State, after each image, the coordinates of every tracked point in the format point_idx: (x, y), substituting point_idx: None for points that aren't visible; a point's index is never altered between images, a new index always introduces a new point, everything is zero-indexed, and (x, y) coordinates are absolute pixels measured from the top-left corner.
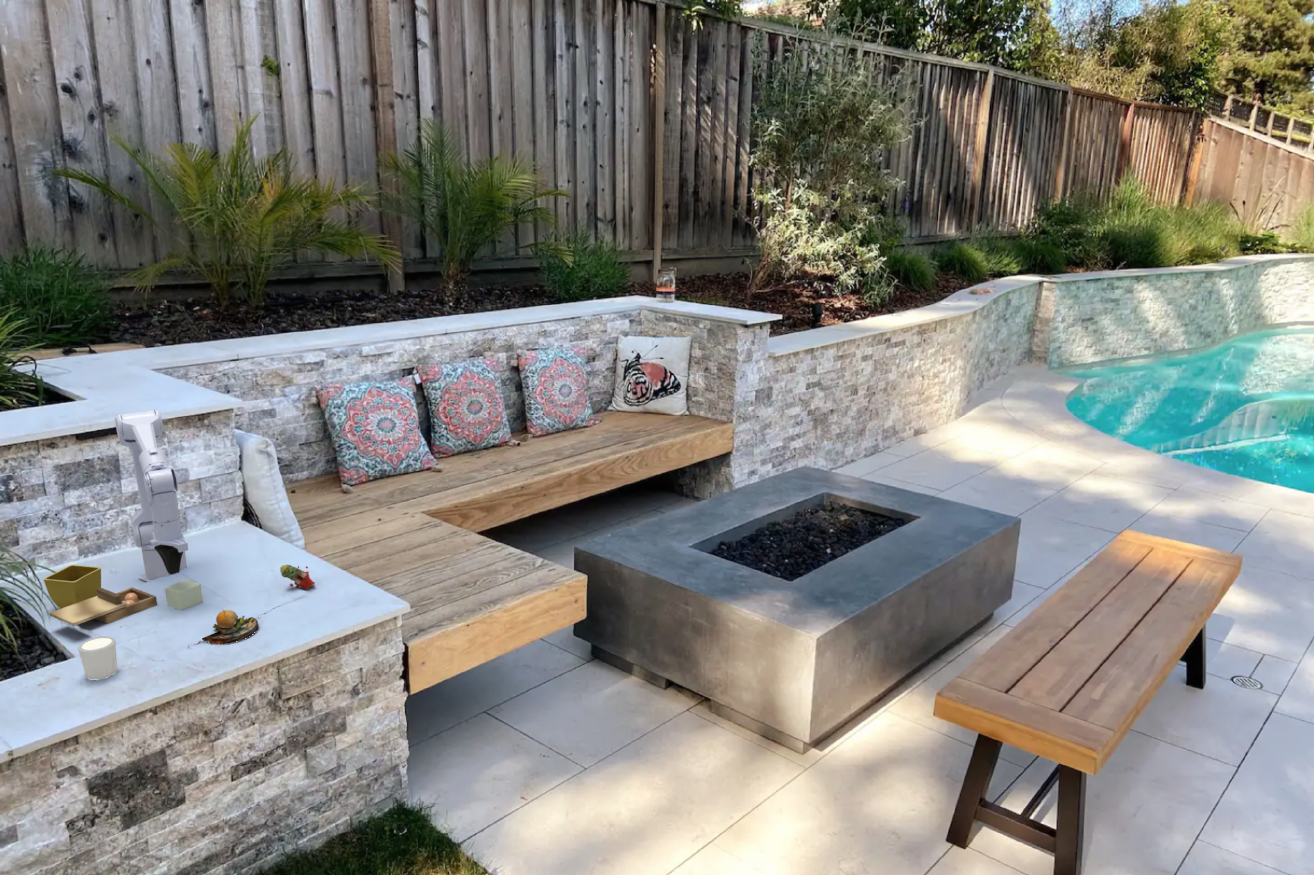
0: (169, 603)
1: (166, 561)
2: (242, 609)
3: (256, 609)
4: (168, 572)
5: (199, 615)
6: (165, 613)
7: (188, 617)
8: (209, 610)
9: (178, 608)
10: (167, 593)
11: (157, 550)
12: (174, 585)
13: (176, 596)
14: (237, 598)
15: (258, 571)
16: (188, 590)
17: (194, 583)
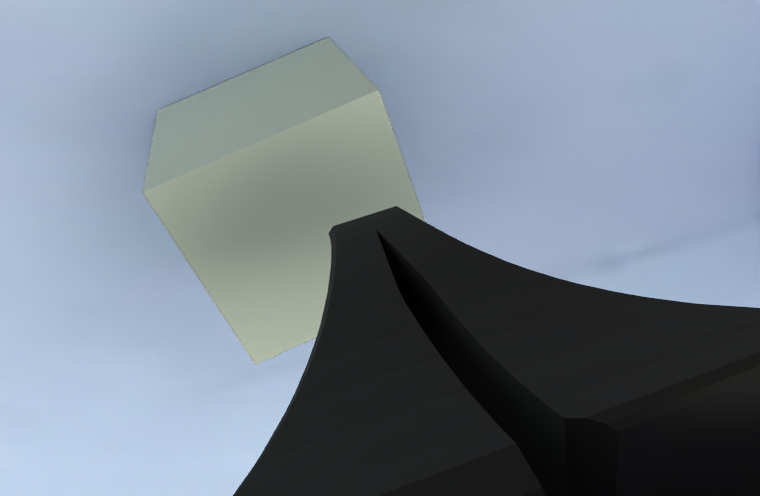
0: (308, 65)
1: (342, 332)
2: (75, 432)
3: (35, 489)
4: (376, 217)
5: (104, 216)
6: (284, 6)
7: (103, 146)
8: (164, 278)
9: (188, 112)
10: (335, 86)
11: (625, 368)
12: (369, 177)
13: (193, 149)
14: (267, 413)
15: None
16: (195, 267)
17: (306, 325)
